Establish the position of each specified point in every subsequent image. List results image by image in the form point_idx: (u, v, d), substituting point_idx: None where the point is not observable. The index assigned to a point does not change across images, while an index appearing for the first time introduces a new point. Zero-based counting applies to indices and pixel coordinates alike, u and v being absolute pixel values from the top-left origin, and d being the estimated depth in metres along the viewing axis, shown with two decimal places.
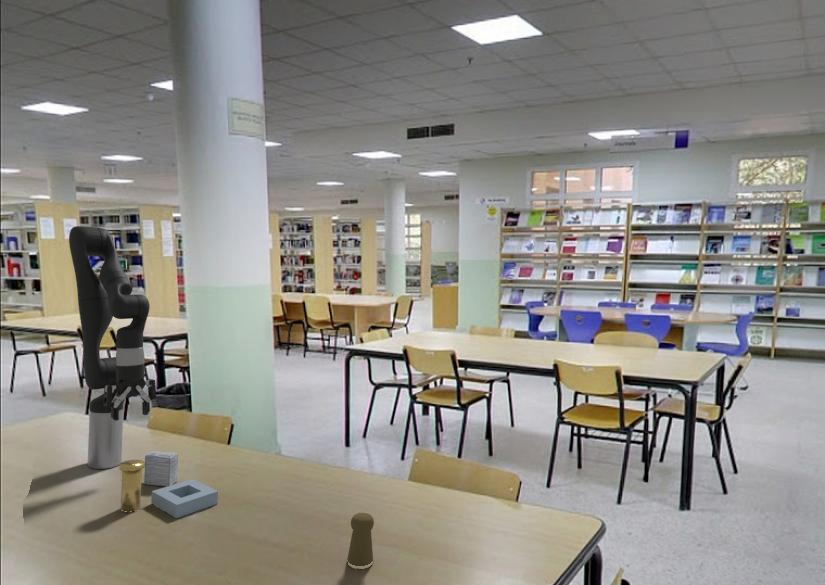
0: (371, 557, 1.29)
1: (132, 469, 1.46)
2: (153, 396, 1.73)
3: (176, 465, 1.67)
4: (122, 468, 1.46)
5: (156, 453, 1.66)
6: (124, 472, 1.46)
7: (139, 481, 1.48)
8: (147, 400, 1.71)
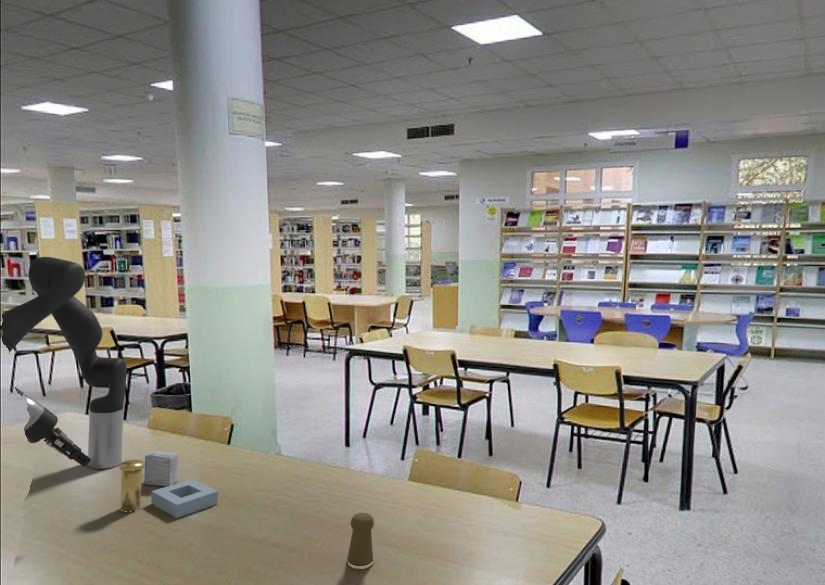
0: (371, 557, 1.29)
1: (132, 469, 1.46)
2: None
3: (176, 465, 1.67)
4: (122, 468, 1.46)
5: (156, 453, 1.66)
6: (124, 472, 1.46)
7: (139, 481, 1.48)
8: None
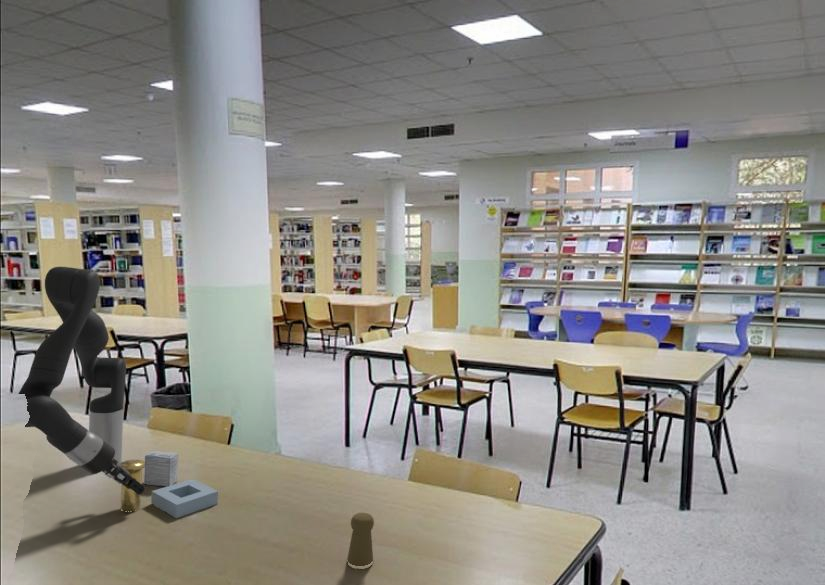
0: (371, 557, 1.29)
1: (132, 469, 1.46)
2: None
3: (176, 465, 1.67)
4: None
5: (156, 453, 1.66)
6: None
7: (139, 481, 1.48)
8: None
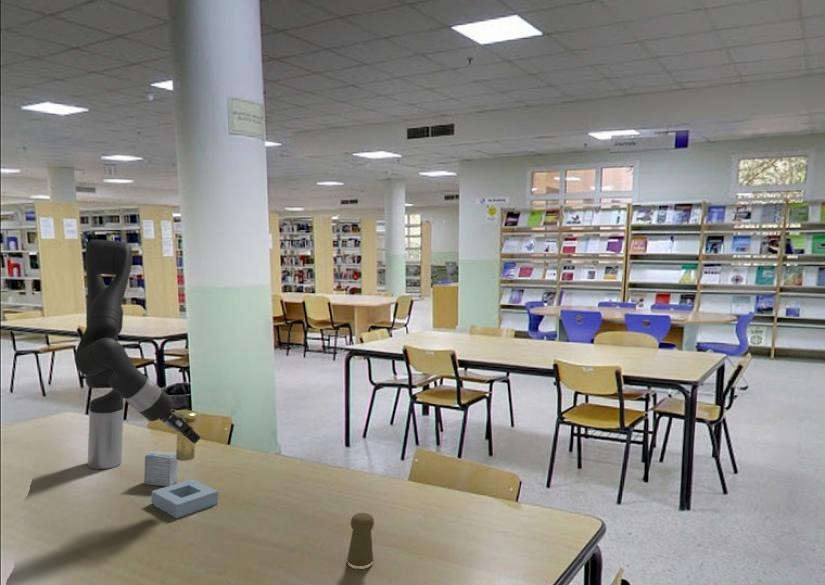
0: (371, 557, 1.29)
1: (188, 418, 1.50)
2: (183, 434, 1.47)
3: (176, 465, 1.67)
4: None
5: (156, 453, 1.66)
6: None
7: (194, 430, 1.52)
8: None
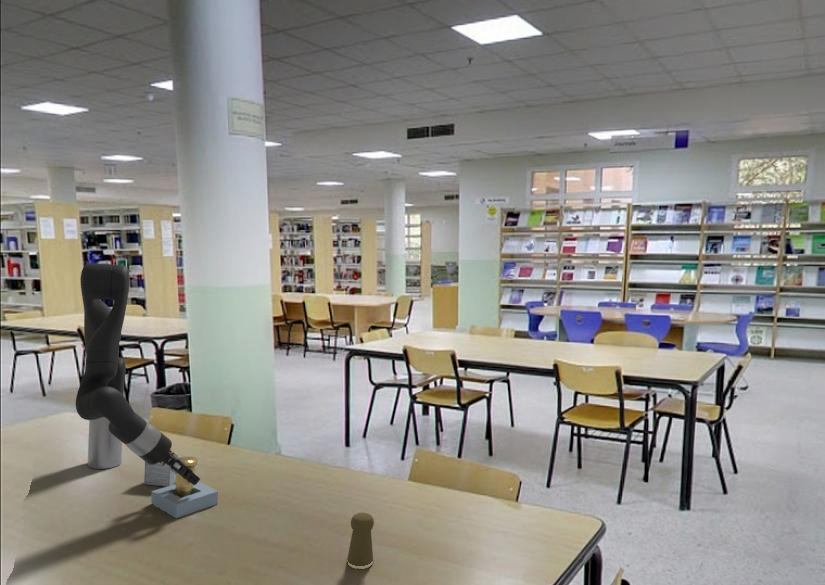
0: (371, 557, 1.29)
1: (187, 465, 1.50)
2: (183, 477, 1.47)
3: None
4: None
5: None
6: None
7: None
8: None
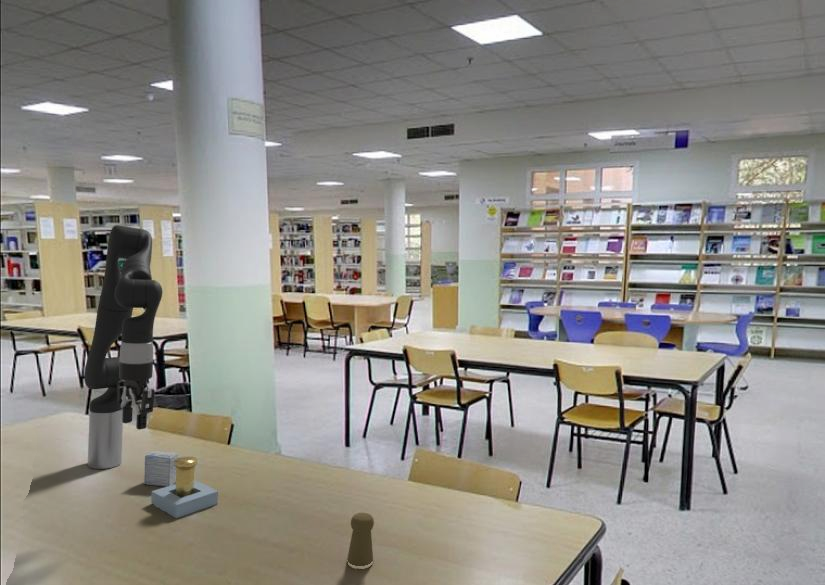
0: (371, 557, 1.29)
1: (186, 465, 1.50)
2: (141, 410, 1.39)
3: None
4: (177, 464, 1.50)
5: (156, 453, 1.66)
6: (179, 468, 1.51)
7: (192, 477, 1.53)
8: (137, 411, 1.40)
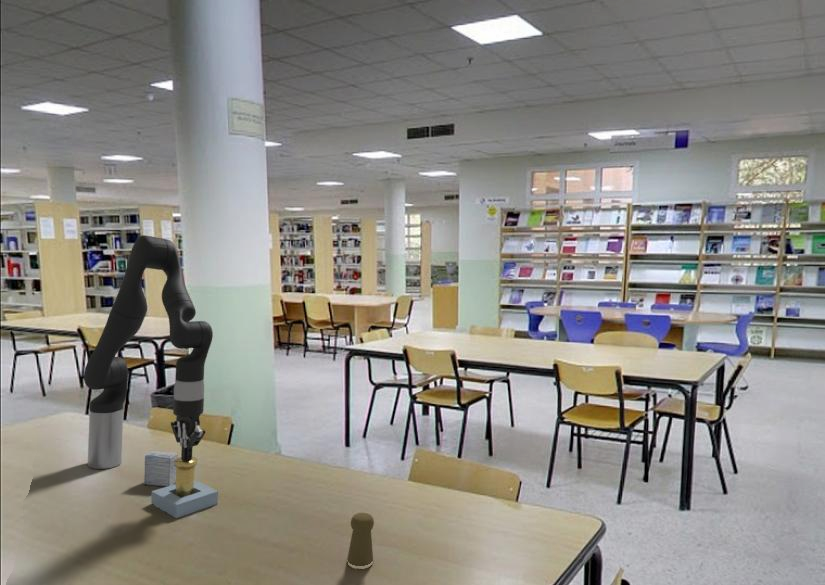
0: (371, 557, 1.29)
1: (186, 465, 1.50)
2: (188, 443, 1.50)
3: None
4: (177, 464, 1.50)
5: (156, 453, 1.66)
6: (179, 468, 1.51)
7: (192, 477, 1.53)
8: (184, 444, 1.51)
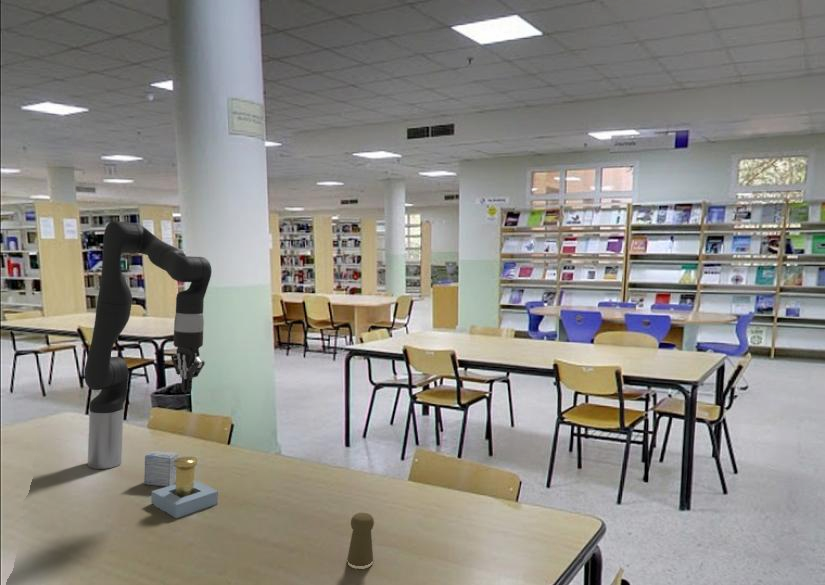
0: (371, 557, 1.29)
1: (186, 465, 1.50)
2: (187, 374, 1.55)
3: None
4: (177, 464, 1.50)
5: (156, 453, 1.66)
6: (179, 468, 1.51)
7: (192, 477, 1.53)
8: (184, 376, 1.56)
